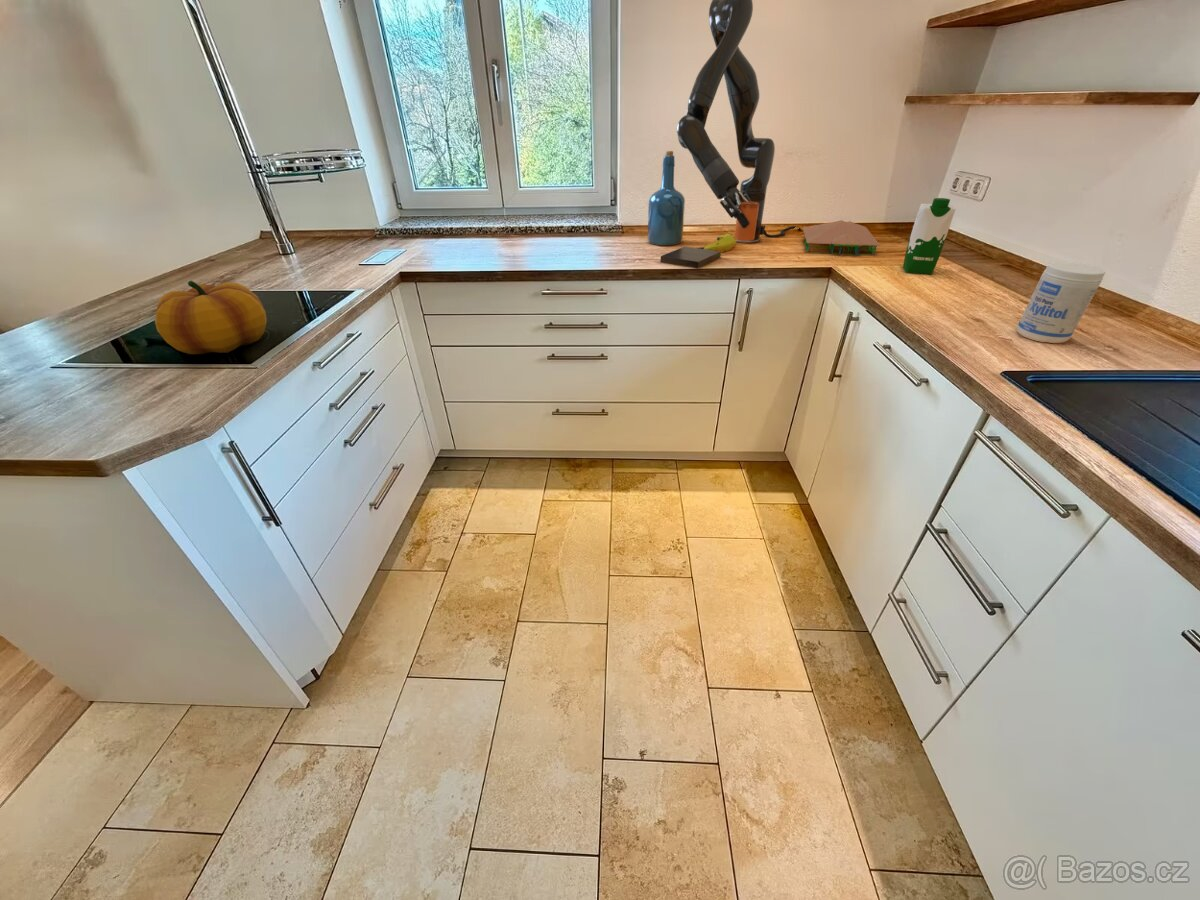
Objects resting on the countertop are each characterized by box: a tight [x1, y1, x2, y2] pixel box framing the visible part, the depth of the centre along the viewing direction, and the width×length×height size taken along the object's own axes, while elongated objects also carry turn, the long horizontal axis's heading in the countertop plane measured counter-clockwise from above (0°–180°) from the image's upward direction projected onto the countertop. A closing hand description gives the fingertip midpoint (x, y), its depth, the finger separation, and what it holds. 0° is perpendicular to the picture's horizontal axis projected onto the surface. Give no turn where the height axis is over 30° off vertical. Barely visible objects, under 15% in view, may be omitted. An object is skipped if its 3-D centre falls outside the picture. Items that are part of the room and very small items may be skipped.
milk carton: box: [902, 197, 956, 275], centre depth 149 cm, size 9×9×20 cm
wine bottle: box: [647, 150, 686, 246], centre depth 185 cm, size 14×13×30 cm
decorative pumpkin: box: [154, 280, 268, 355], centre depth 113 cm, size 20×22×15 cm
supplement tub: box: [1016, 261, 1106, 344], centre depth 107 cm, size 10×10×15 cm
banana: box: [698, 233, 738, 253], centre depth 184 cm, size 5×17×15 cm
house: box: [802, 220, 881, 257], centre depth 181 cm, size 23×33×8 cm
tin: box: [733, 202, 759, 241], centre depth 154 cm, size 6×6×10 cm
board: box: [660, 246, 722, 269], centre depth 171 cm, size 16×14×2 cm
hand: (751, 224), depth 154 cm, fingers closed on tin, 6 cm apart
